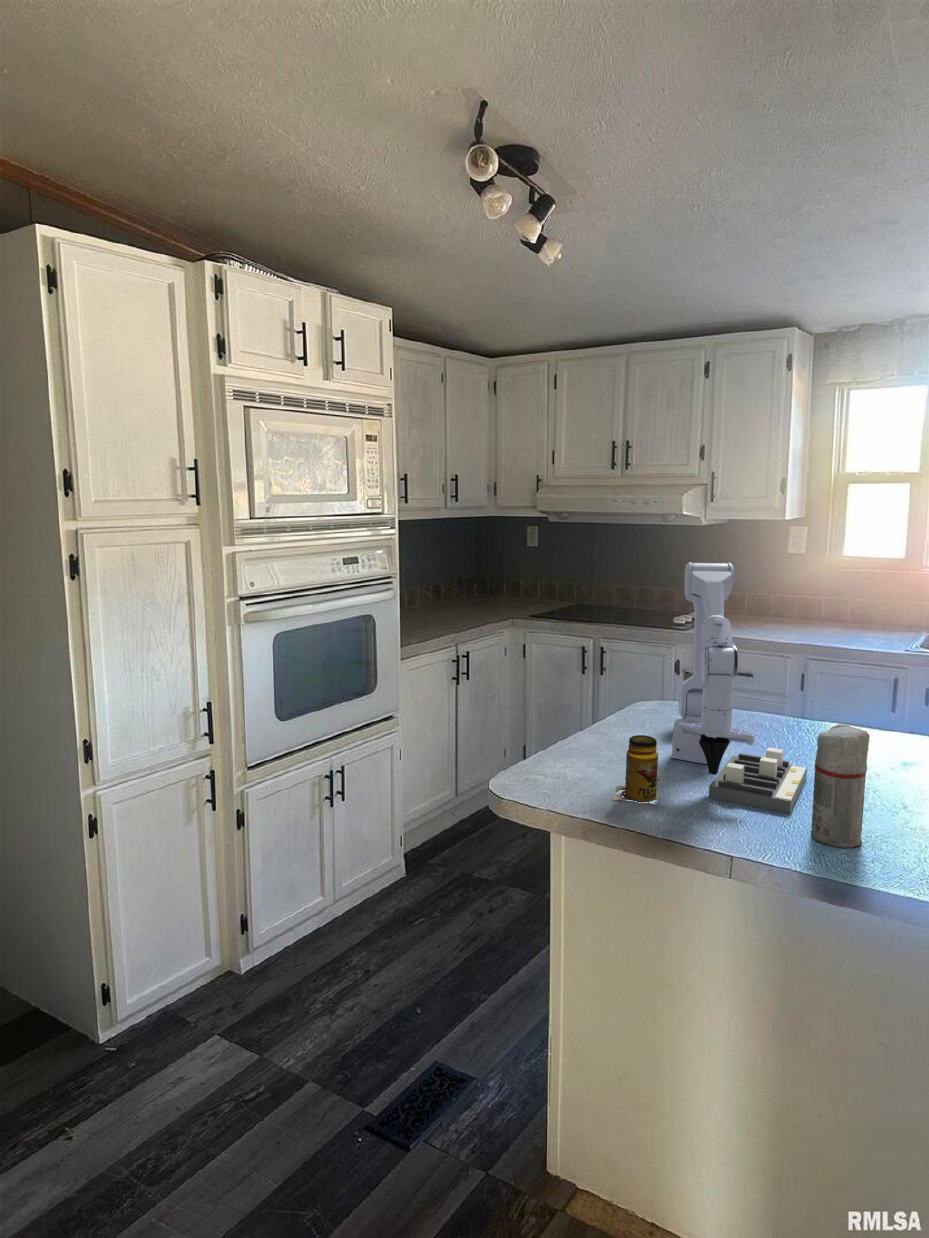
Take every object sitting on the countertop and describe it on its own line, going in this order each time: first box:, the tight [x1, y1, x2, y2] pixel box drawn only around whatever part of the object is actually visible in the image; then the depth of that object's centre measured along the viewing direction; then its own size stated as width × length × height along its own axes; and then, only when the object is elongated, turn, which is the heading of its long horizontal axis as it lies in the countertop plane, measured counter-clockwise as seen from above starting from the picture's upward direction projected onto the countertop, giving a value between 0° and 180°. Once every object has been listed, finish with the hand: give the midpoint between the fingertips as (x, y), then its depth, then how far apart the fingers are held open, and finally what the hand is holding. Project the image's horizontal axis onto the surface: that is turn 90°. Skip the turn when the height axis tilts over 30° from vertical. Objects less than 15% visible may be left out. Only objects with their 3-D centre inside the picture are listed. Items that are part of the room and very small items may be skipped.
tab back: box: [765, 746, 785, 767], centre depth 163 cm, size 3×2×4 cm
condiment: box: [612, 734, 660, 806], centre depth 154 cm, size 7×8×12 cm
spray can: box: [810, 723, 870, 849], centre depth 134 cm, size 8×8×20 cm
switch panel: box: [708, 753, 808, 814], centre depth 159 cm, size 15×21×3 cm
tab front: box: [725, 762, 745, 784], centre depth 154 cm, size 3×2×4 cm
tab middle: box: [759, 756, 778, 778], centre depth 157 cm, size 3×2×4 cm
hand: (713, 773), depth 156 cm, fingers closed
